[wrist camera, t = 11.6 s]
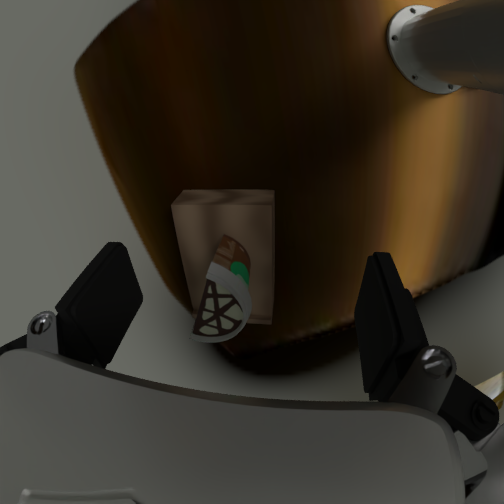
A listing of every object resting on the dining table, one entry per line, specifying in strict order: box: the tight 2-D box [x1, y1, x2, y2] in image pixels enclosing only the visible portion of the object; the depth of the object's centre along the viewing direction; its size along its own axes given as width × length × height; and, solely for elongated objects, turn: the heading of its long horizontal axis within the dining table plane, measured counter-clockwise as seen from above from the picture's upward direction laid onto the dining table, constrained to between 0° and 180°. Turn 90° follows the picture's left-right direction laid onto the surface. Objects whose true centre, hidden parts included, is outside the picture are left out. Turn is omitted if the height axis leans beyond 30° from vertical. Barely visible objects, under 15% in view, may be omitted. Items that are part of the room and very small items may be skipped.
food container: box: [189, 234, 252, 342], centre depth 36 cm, size 12×6×10 cm, turn 162°
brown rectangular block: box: [171, 190, 275, 324], centre depth 42 cm, size 13×20×6 cm, turn 2°
